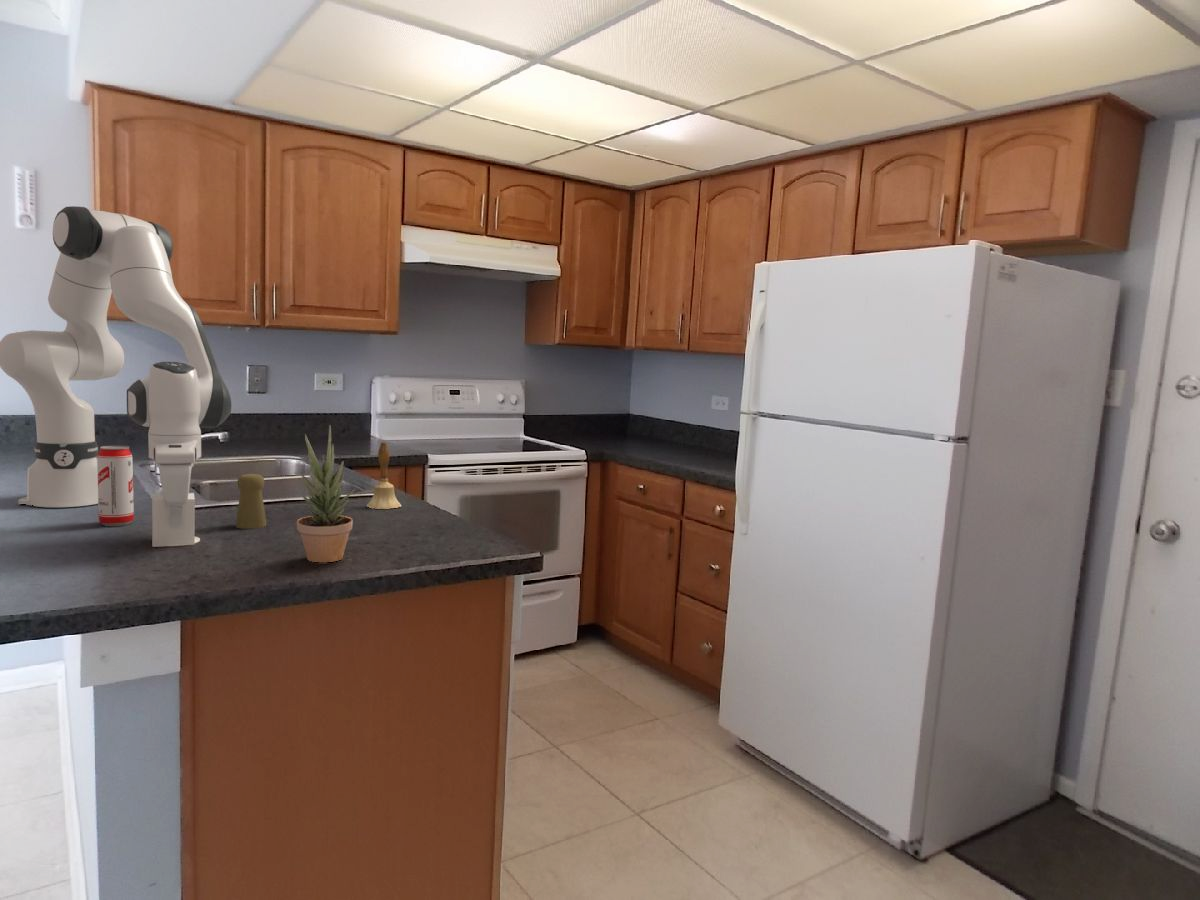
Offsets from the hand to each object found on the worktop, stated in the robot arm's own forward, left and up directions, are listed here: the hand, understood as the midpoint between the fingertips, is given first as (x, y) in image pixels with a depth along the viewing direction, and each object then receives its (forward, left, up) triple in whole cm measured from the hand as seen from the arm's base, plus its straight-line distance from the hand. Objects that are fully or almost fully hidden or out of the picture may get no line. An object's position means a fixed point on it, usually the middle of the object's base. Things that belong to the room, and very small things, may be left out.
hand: (176, 520), depth 154 cm
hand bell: (-25, +45, -4) cm, 52 cm away
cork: (-11, +14, -4) cm, 18 cm away
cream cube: (0, 0, -4) cm, 4 cm away
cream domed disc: (0, 0, -4) cm, 4 cm away
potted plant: (+22, +24, -4) cm, 33 cm away
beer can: (-20, -11, -4) cm, 23 cm away
